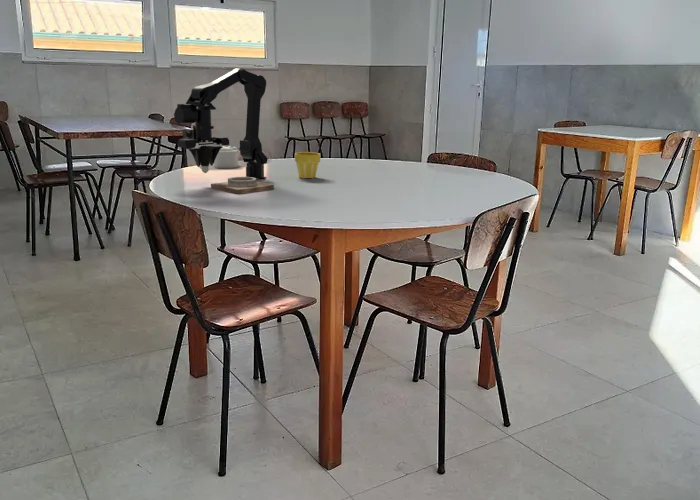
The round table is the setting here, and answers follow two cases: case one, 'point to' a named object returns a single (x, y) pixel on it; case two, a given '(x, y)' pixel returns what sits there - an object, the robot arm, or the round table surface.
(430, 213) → the round table surface
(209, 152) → the light bulb
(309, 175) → the plant pot
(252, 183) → the socket base
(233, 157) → the lumpy-topped squat cylinder
